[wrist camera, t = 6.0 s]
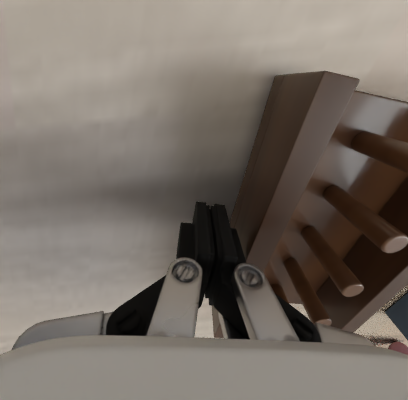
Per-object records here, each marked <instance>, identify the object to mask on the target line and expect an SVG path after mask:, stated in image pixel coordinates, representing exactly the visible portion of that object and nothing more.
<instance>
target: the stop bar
mask: <svg viewBox="0 0 408 400" xmlns="http://www.w3.org/2000/svg"><path fill="white" fill-rule="evenodd" d="M385 313H386V314H387V316H388V317H389V318H390V319H391V320H392V322H393V323H394V324H395V325H396V327H397V328H398V329H399V330H400V331H401V333H402V334H403V335H404V336H405V338H406V339H407V340H408V293H407V294H406V295H404V296H403V297H402V298H401V299H400V300H399V301H397V302H396V303H395V304H394V305H393V306H391V307H390V308H389V309H388V310H387V311H386V312H385Z"/></svg>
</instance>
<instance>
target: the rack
mask: <svg viewBox="0 0 408 400" xmlns="http://www.w3.org/2000/svg"><path fill="white" fill-rule="evenodd" d="M358 83H359V79H357V78H353V77H349V76H345V75H341V74H336V73H332V72H328V71H319V72H308V73H297V74H286V75H277V76H275V78H274V81H273V85H272V88H271V91H270V94H269V97H268V101H267V104H266V107H265V110H264V114H263V117H262V120H261V123H260V127H259V130H258V133H257V136H256V139H255V143H254V146H253V149H252V152H251V156H250V159H249V162H248V165H247V168H246V172H245V175H244V178H243V181H242V185H241V188H240V191H239V194H238V198H237V201H236V204H235V207H234V210H233V214H232V217H231V220H230V223H229V224H230V228H235V229H236V230H237V232H238V236H239V239H240V243H241V246H242V249H243V253H244V256H245V260H246V263H250V264H253V265H255V266H256V267H258V268H259V269H260V270H261V271H262V272H263V273H264V274H265V276H266V278H267V280H268V282H269V284H270V286H271V287H272V289H273V291H274V293H275V294H277V295H278V296H279V297H281V298H282V299H283V300H285V301H286V302H287V303H288V304H289V303H295V304H303V306H304V308H305V310H306V312H307V314H308V316H309V318H310V321H311V322H312V323H313V324H315V323H316V322H318V323H321V324H325V325H328V326H331V327H335V328H338V329H342V330H345V331H348V332H352V333H353V332H354V331H356V330H357V329H358V328H359V327H360V326H361V325H362V324H363V323H365V322H366V321H367V320H368V319H369V318H370V317H371V316H372V315H374V314H375V313H376V312H377V311H378V310H379V309H380V308H381V307H383V306H384V305H385V304H386V303H387V302H388V301H389V300H390V299H392V298H393V297H394V296H395V295H396V294H397V293H398V292H399V291H401V290H402V289H403V288H404V287H405V286H406V285H407V284H408V102H404V101H399V100H395V99H391V98H386V97H382V96H377V95H373V94H368V93H364V92H360V91H355V89H356V87H357V85H358ZM218 313H219V312H218V311H217V310H216V309H215V308H214V306H213V305H212V316H213V330H214V337H215V338H224V337H223V333H222V329H221V325H220V321H219V314H218Z"/></svg>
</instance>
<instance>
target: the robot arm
mask: <svg viewBox="0 0 408 400" xmlns="http://www.w3.org/2000/svg"><path fill="white" fill-rule="evenodd" d="M204 294H205V298H209V305H213V306H214V308H215V309H216V310H217V311H218V312H219V313H218V314H219V321H220V325H221V329H222V333H223V337H224V339H221V338H194V335H195V328H196V320H197V313H198V309H199V308H200V307H201V305H202V301H203V298H204ZM0 400H408V355H407V354H404V353H401V352H397V351H394V350H390V349H386V348H381V347H376V346H375V345H374V344H373V343H372V342H371V341H369V340H368V339H367V338H365V337H363V336H361V335H359V334H355V333H352V332H348V331H345V330H342V329H338V328H335V327H331V326H328V325H325V324H321V323H318V322H316V323H315V324H313V323H312V322H311V321H310V320H309V319H308V318H307V317H305V316H304V315H303V314H302V313H300V312H299V311H298V310H296V309H295V308H294V307H292V306H291V305H290V304H288V303H287V302H286V301H285V300H283V299H282V298H281V297H279V296H278V295H277V294H275V293H274V291H273V289H272V287H271V286H270V284H269V282H268V280H267V278H266V276H265V274H264V273H263V272H262V271H261V270H260V269H259V268H258V267H256V266H255V265H253V264H250V263H246V260H245V256H244V253H243V249H242V246H241V243H240V239H239V236H238V232H237V230H236V229H235V228H230V224H229V220H228V216H227V212H226V209H225V205H220V204H215V205H214V206H211V208H210V207H209V205H206V203H205V202H196V206H195V211H194V217H193V222H192V223H183V222H181V225H180V231H179V239H178V247H177V257H176V260H174V261H173V262H172V263H171V264H170V266H169V268H168V271H167V274H166V275H165V276H164V277H162V278H161V279H160V280H158V281H157V282H155V283H154V284H152V285H151V286H149V287H148V288H146V289H145V290H143V291H142V292H140V293H139V294H137V295H136V296H134V297H133V298H132V299H130V300H129V301H127V302H126V303H124V304H123V305H121V306H120V307H118V308H117V309H116V310H115V311H114V312H110V313H104V311H100V312H95V313H89V314H83V315H77V316H71V317H65V318H59V319H53V320H47V321H43V322H40V323H37V324H35V325H33V326H32V327H30V328H28V329H27V330H26V331H25V332H24V333H23V334H22V335H21V336H19V338H18V339H17V341H16V342H15V344H14V346H13V348H12V350H11V351H9V352H6V353H3V354H1V355H0Z"/></svg>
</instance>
